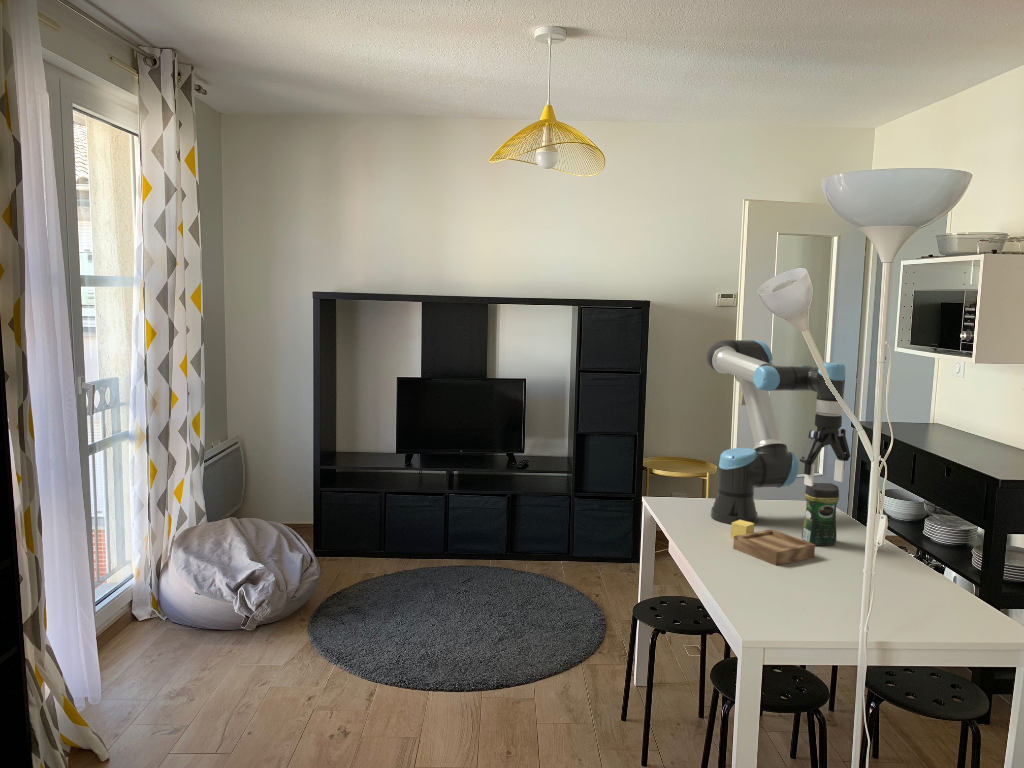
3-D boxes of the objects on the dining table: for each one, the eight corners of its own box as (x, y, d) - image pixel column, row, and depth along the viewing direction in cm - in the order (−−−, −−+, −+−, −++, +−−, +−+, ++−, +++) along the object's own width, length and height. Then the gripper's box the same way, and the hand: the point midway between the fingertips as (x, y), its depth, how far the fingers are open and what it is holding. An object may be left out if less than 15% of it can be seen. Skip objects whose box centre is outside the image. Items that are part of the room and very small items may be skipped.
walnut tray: (770, 541, 242) (771, 529, 242) (814, 557, 228) (815, 544, 228) (733, 548, 234) (734, 535, 233) (775, 565, 220) (776, 552, 220)
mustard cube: (738, 535, 248) (739, 519, 247) (753, 539, 244) (754, 523, 244) (730, 538, 244) (731, 522, 243) (745, 542, 241) (746, 526, 240)
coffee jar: (827, 538, 247) (832, 480, 245) (839, 546, 239) (844, 486, 237) (797, 538, 246) (802, 479, 244) (808, 546, 238) (813, 486, 236)
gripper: (844, 410, 247) (839, 476, 250) (790, 414, 235) (785, 484, 237) (866, 413, 241) (860, 482, 243) (811, 417, 228) (806, 489, 231)
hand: (823, 483), depth 240 cm, fingers open, 13 cm apart
